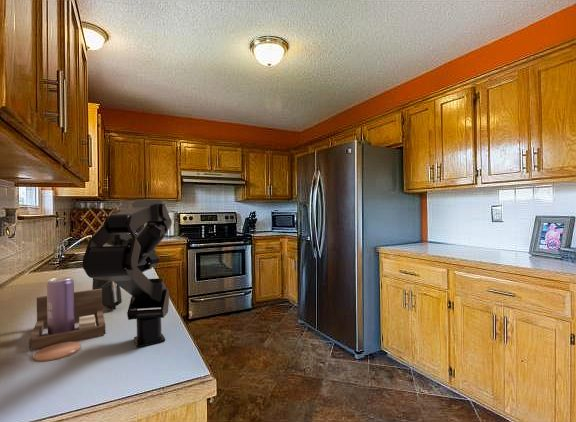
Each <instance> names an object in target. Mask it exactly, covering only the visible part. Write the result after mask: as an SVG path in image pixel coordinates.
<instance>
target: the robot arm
mask: <svg viewBox="0 0 576 422" xmlns="http://www.w3.org/2000/svg"><path fill="white" fill-rule="evenodd" d="M172 222H173V221H172V218H171V217H170V213H169V211H168V208H167V206H166V204H165V203H163V200H162V199H136V200H135V201H134V202H132V203H131V207H129V208H128V209H127V208H126V209H125V210H122V211H120V212H116V213H111V214H110V215H107V216H106V217H105V219H104V222H103V226H102V227H101V228H100V229H98V230H97V231H96V233H95V234H94V235H92V236H91V237H90V238H89V240H88V242H87V245H86V249H85V252H84V255H83V258H82V269H83V270H84V273H85V274H86V276H88V278H91V279H93V278H94V279H97V280H98V281H97V286H98V287H99V288H100V287H102V286H104V285H105V284H107V283H109V282H111V281H113V282H115V283H116V284H117V285H119V286H120V289H122V290H124V291H125V292H127V293H128V294H129V295H130V300H129V305H128V307H127V308H128V309H127V312H126V315H127V320H128V321H131V320H136V336H134V337H133V341H134V343H135V345H136V347H137V348H141V347H145V346H150V345H153V344H158V343H162V342H165V341H166V338H165V336H164V334H163V333H162V319H163V318H165V317H166V315H167V314H168V313H169V303H170V290H169V289H168V287H167V286H166V282H164V281H163V279H161V278H160V277H159V278H148V277H147V276H146V275H145V273H144V272H147V271H149V270H151V269H152V268H156V267H157V266H158V264H159V263H160V258H159V256H158V255H156V252H157V250H155V249H156V248H157V247H158V246H159V244H160V243H161V242H162V241H163V240H164V239H165V237H166V234H167V233H168V231H169V230H170V228H171V226H172V224H173V223H172ZM143 225H144V227H143V228H141V230H140V231H139V233H138V234H137V235H136V233H137V232H136V231H137V229H138V228H140V227H142V226H143ZM105 244H107V245H108V246H107V245H106V246H104V245H105Z"/></svg>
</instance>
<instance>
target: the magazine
mask: <svg viewBox="0 0 576 422" xmlns="http://www.w3.org/2000/svg"><path fill="white" fill-rule="evenodd" d="M97 281H98V280H97V279H94V278H92V289H91V290H94V289H102V306H108V307H111V309H113V310H116V309H117V306H119V305H120V304H122V303H123V302H122V301H123V300H122V290H121V287H120V286H119V285H117V284H116V283H115V282H113V281H111V282H109V283H107V284H105V285H104V286H102V287H100V288H99V287H98V286H97Z"/></svg>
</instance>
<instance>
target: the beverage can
mask: <svg viewBox="0 0 576 422" xmlns="http://www.w3.org/2000/svg"><path fill="white" fill-rule="evenodd" d="M74 284H75V281H74V277H72V276H63V277H62V276H60V277H53V278H50V279H48V280H47V284H46V296H47V320H48V328H47V335H52V334H57V333H62V332H68V331H73V330H76V325H75V324H76V323H75V317H74V292H75V285H74Z"/></svg>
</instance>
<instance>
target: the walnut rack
mask: <svg viewBox="0 0 576 422" xmlns="http://www.w3.org/2000/svg"><path fill="white" fill-rule="evenodd" d="M89 315H94V316H95V320H96V322H97V323H96V324H97V325H96V326H94V327H89V328H83V329H79V328H78V329H74V330H73V331H68V332H62V333H57V334H52V335H48V334H47V335H43V332H44V330H46V329H48V320H47V295H43V296H37V297H36V322H35V325H34V326H33V329H32V331H31V334H30V336H29V338H28V342H29V343H28V345H29V346H28V348H29V350H30V351H38V350H40V349H42V348H45V347H47V346H50V345H54V344H58V343H63V342H79V341H85V340H90V339H94V338H99V337H104V335H105V334H106V333H107V332H106V323H105V322H106V321H105V317H104V312H103V304H102V289H94V290H92V289H89V290H80V291H74V317H75V324H79V317H83V316H89Z"/></svg>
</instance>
